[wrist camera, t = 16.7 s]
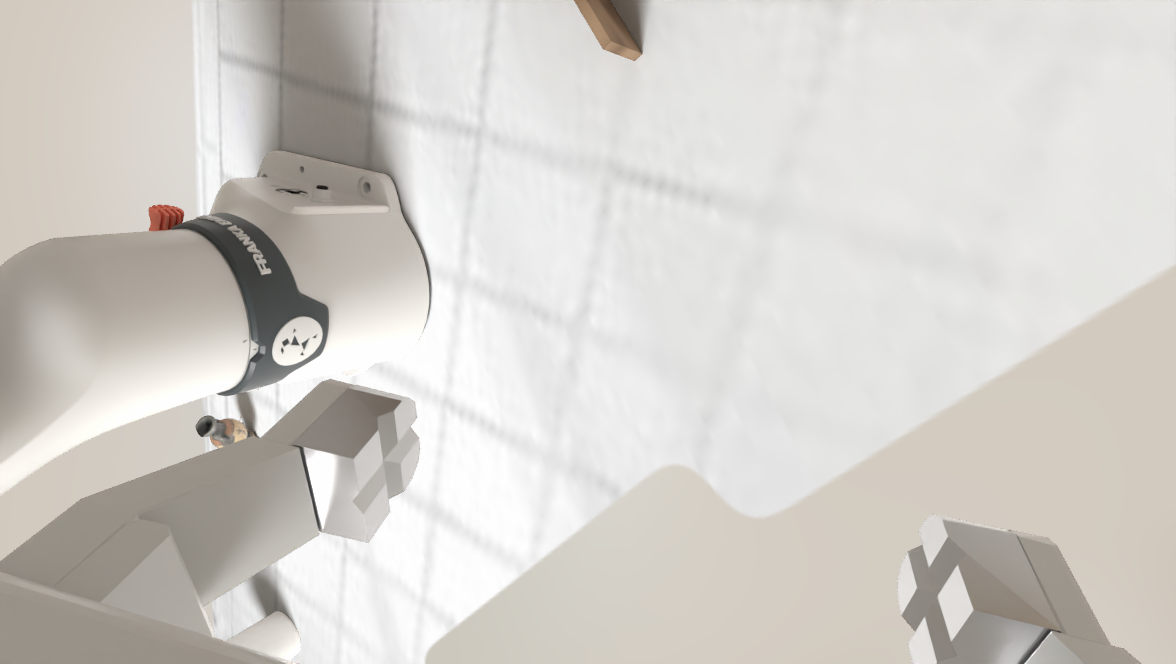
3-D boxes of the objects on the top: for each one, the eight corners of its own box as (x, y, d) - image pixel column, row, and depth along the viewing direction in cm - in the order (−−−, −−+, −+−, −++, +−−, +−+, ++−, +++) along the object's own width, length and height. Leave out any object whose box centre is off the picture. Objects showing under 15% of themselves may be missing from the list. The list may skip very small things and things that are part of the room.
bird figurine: (243, 391, 66) (188, 408, 61) (272, 421, 65) (218, 440, 60) (236, 424, 69) (182, 443, 64) (263, 453, 67) (210, 475, 62)
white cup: (261, 609, 75) (176, 664, 67) (288, 605, 72) (202, 663, 63) (282, 657, 75) (199, 718, 67) (310, 656, 72) (226, 720, 63)
